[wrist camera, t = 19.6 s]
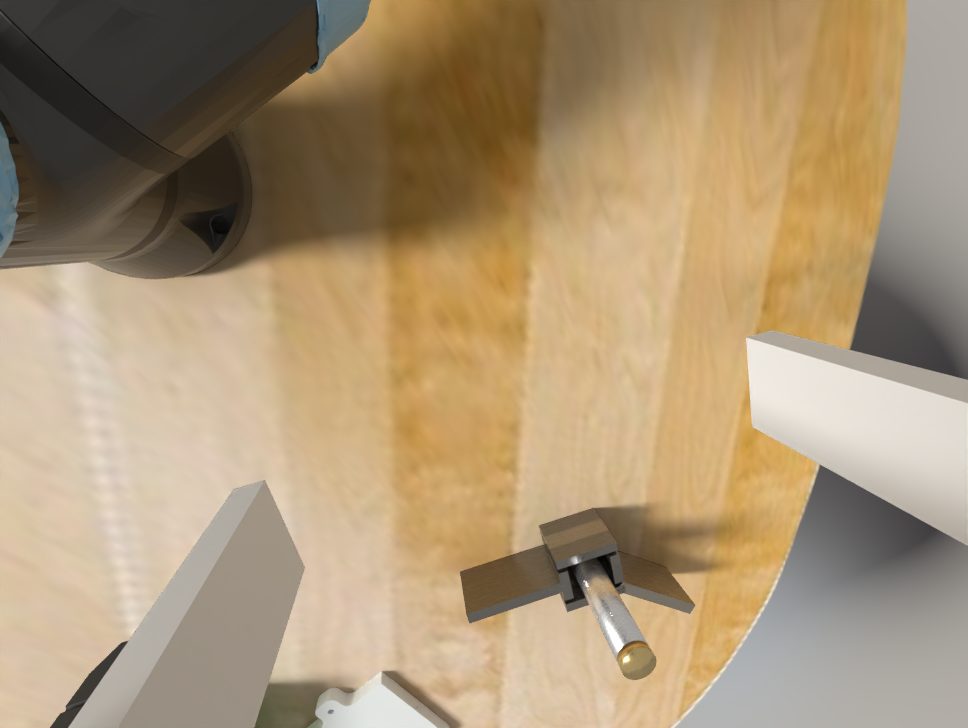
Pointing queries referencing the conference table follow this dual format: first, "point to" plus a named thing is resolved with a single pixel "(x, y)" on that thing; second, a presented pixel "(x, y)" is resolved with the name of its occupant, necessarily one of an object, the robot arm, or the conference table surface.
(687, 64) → the conference table surface
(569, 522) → the grey winged hinge base
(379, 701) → the mounting plate
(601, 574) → the hinge pin
